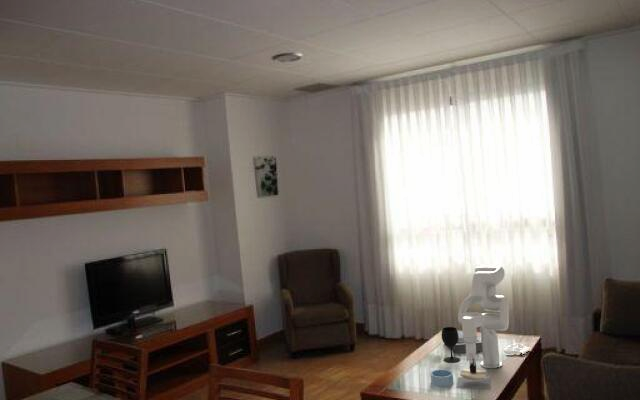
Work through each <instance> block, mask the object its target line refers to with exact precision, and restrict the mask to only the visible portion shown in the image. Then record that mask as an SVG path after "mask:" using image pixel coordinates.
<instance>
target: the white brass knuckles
mask: <svg viewBox="0 0 640 400" xmlns="http://www.w3.org/2000/svg"><path fill="white" fill-rule="evenodd" d="M518 345H521V346H518ZM519 347H523V348H519ZM530 349H531V350H532V348H531V347H529V346H526V345H524V344H523V343H519V342H516V343H514V344H508V346H505V348H503V354H504V353H506V354H511V353H517V352H520V353H522V354H521V355H523V354H524V353H525V352H527V351H528V350H530ZM517 350H520V351H517Z"/></svg>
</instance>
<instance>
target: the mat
mask: <svg viewBox="0 0 640 400" xmlns="http://www.w3.org/2000/svg"><path fill="white" fill-rule="evenodd" d="M491 385H492V379H491V377H489V378H487V377H485V378H482V379H477V380H471V379H466V378H463V377H462V376H460V377H459V376H458V377H457V381H456V389H462V390H463V389H465V390H466V389H467V390H489V391H490V390H491V388H492V387H491Z"/></svg>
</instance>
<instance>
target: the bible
mask: <svg viewBox="0 0 640 400" xmlns="http://www.w3.org/2000/svg"><path fill="white" fill-rule="evenodd" d="M458 337H459V338H458V342H457V344H456V345H455V346H454V347H452V353H454V354H455V355H462V354H466V343H465V342H464V340H463V331H461V332H458ZM477 340H478V342H476V353H479V352H478V351H481V352H482V341H481V338H480V339H479V338H478V337H477Z"/></svg>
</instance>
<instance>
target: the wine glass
mask: <svg viewBox="0 0 640 400" xmlns="http://www.w3.org/2000/svg"><path fill="white" fill-rule="evenodd" d="M458 333H459V332H458V328H456V327H455V326H454V327H453V326H447V327H443V328H442V329H441V340H442V342H443V344H444V345H445V346H446V347H448V349H449V350H450V356H448V357H444V358H443V361H444V362H445V363H447V364H455V363H459V362H460V361H461V358H460V357H456V356H453V350H452V347H454V346H455V345H456V344H457V342H458V338H459V337H458Z"/></svg>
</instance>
